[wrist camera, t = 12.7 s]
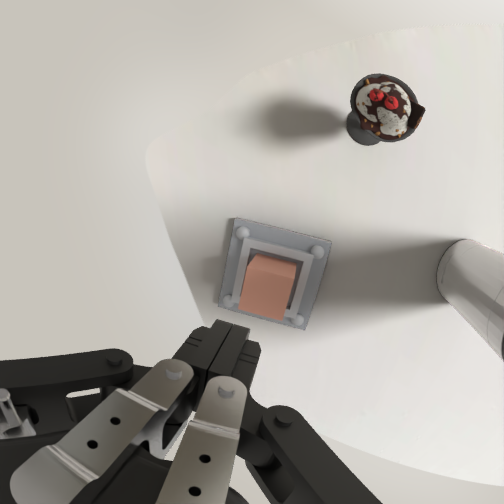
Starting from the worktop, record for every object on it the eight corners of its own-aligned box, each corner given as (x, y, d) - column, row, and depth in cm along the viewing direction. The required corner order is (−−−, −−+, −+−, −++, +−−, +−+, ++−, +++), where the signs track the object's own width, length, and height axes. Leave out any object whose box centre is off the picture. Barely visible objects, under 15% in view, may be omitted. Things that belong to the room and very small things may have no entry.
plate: (330, 241, 35) (332, 245, 33) (305, 325, 39) (304, 333, 36) (237, 217, 37) (232, 219, 35) (220, 302, 40) (215, 309, 38)
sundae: (328, 119, 32) (340, 78, 18) (368, 91, 30) (402, 41, 16) (361, 163, 32) (397, 150, 18) (401, 134, 30) (455, 108, 16)
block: (296, 263, 36) (294, 279, 30) (286, 300, 37) (282, 321, 31) (257, 252, 36) (247, 266, 30) (248, 289, 38) (237, 308, 32)
